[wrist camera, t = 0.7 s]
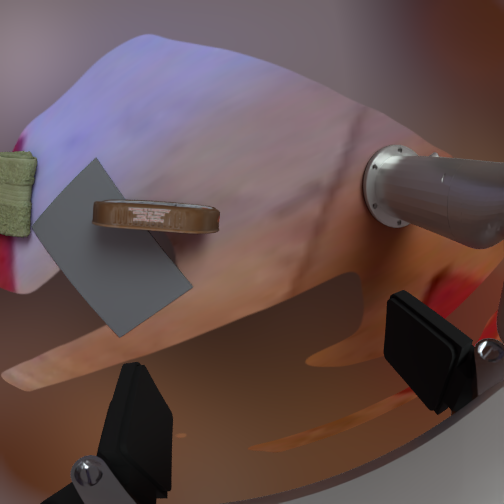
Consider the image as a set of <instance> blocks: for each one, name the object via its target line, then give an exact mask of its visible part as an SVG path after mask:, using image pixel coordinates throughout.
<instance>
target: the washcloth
mask: <svg viewBox="0 0 504 504" xmlns="http://www.w3.org/2000/svg"><path fill="white" fill-rule="evenodd" d="M36 166H37V158H36V157H33V156H32V154H31V152H29V151H28V152H24V151H22V152H21V151H19V152H16V151H15V152H1V153H0V234H2V235H5V236H8V235H9V236H13V237H15V236H17V237H24V236H25V237H27V236H29V234H30V215H31V205H32V204H31V202H30V200H31V193H32V191H31V190H32V185H33V184H34V179H35V178H34V175H35V171H36Z"/></svg>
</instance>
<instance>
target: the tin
mask: <svg viewBox="0 0 504 504" xmlns="http://www.w3.org/2000/svg"><path fill="white" fill-rule="evenodd" d="M219 218H220V212H219V210H217V209H216V208H214V207H211V206H203V205H194V204H184V203H173V202H161V201H145V200H104V201H95V202H94V205H93V220H92V224H94V225H97V226H102V227H110V228H123V229H136V230H152V231H163V232H176V233H191V234H205V233H216V232H218V231H219Z"/></svg>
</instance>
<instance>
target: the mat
mask: <svg viewBox="0 0 504 504" xmlns="http://www.w3.org/2000/svg"><path fill="white" fill-rule="evenodd" d="M104 200H125V198H124V197H123V195H122V194H121V193H120V191H119V190H118V188H117V187H116V186H115V184H114V183H113V181H112V180H111V178H110V177H109V175H108V174H107V173H106V171H105V170H104V168H103V167H102V165H101V164H100V162H99V161H98V159H97V158H95V159H94V160H93V161H92V162H91V163H90V164H89V165H88V166H87V167H86V168H85V169H84V170H82V171H81V172H80V173H79V174H78V175H77V176H76V177H75V178H74V179H73V180H72V182H71V183H70V184H69V185H68V186H67V187H66V188H65V189H64V190H63V191H62V192H61V193H60V194H59V195H58V196H57V197H56V199H55V200H54V201H53V202H52V203H51V204H50V205H49V206H48V208H47V209H46V210H45V211H44V212H43V213H42V215H41V216H40V217H39V218H38V219H37V221H36V222H35V223H34V224H33V226H32V229H33V230H34V232H35V233H36V235H37V236H38V238H39V239H40V241H41V242H42V244H43V245H44V247H45V248H46V250H47V251H48V252H49V254H50V255H51V257H52V258H53V259H54V261H55V262H56V263H57V265H58V266H59V267H60V269H61V270H62V271H63V273H64V274H65V275H66V277H67V278H68V279H69V280H70V282H71V283H72V284H73V285H74V287H75V288H76V289H77V290H78V292H79V293H80V294H81V295H82V296H83V298H84V299H85V300H86V301H87V302H88V303H89V305H90V306H91V307H92V308H93V309H94V310H95V311H96V313H97V314H98V315H99V316H100V317H101V318H102V319H103V320H104V321H105V322H106V324H107V325H108V326H109V327H110V328H111V329H112V330H113V331H114V332H115V333H116V334H117V335H118V336H119V337H122V336H123V335H124V334H126V333H127V332H129V331H130V330H132V329H133V328H135V327H136V326H137V325H139V324H140V323H142V322H143V321H145V320H146V319H148V318H149V317H150V316H152V315H153V314H155V313H156V312H158V311H159V310H161V309H162V308H163V307H165V306H166V305H168V304H169V303H171V302H172V301H174V300H175V299H176V298H178V297H179V296H181V295H182V294H184V293H185V292H187V291H188V290H190V289H191V288H192V287H193V286H192V285H191V284H190V282H189V281H188V280H187V279H186V278H185V276H184V275H183V274H182V273H181V271H180V270H179V269H178V268H177V266H176V265H175V264H174V263H173V262H172V261H171V259H170V258H169V257H168V255H167V254H166V253H165V251H164V250H163V249H162V248H161V246H160V245H159V244H158V242H157V241H156V240H155V239H154V238H153V236H152V235H151V234H150V232H149V231H148V230H136V229H123V228H110V227H102V226H97V225H94V224H92V220H93V205H94V202H95V201H104Z"/></svg>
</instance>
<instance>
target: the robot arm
mask: <svg viewBox="0 0 504 504" xmlns="http://www.w3.org/2000/svg"><path fill="white" fill-rule="evenodd" d="M372 167H373V168H372ZM363 191H364V197H365V202H366V204H367V207H368V209H369V211H370V212H371V214H372V215H373V216H374V217H375V218H376V219H377V220H378V221H379V222H381V223H382V224H384V225H387V226H389V227H393V228H400V227H404V226H407V225H409V224H413V225H416V226H419V227H421V228H424V229H426V230H429V231H431V232H434V233H436V234H439V235H441V236H444V237H446V238H449V239H451V240H454V241H456V242H458V243H461V244H463V245H465V246H468V247H471V248H474V249H486V248H489V247H492V246H494V245H496V244H497V243H499V242H500V241H502V240H503V239H504V163H498V162H487V161H478V160H468V159H457V158H445V157H439V156H438V154H437V153H435V152H434V153H433V154H431V155H430V156H418V155H417V154H416V153H415V152H414V151H413V150H411V149H410V148H408V147H405V146H402V145H389V146H386V147H383V148H382V149H380V150H379V151H377V152H376V153H375V154H374V155H373V156H372V158H371V159H370V161H369V163H368V165H367V167H366V170H365V174H364V180H363ZM497 330H498V334H499V336H500V339H501V340H502V342H503V343H504V283H503V288H502V293H501V298H500V302H499V308H498V313H497ZM472 341H473V340H472V339H470V338H469V337H468V336H467V335H465V334H464V333H463V332H461V331H460V330H459V329H457V328H456V327H455V326H453V325H452V324H451V323H449V322H448V321H447V320H445V319H444V318H443V317H441V316H440V315H439V314H437V313H436V312H435V311H433V310H432V309H430V308H429V307H428V306H426V305H425V304H424V303H422V302H421V301H419V300H418V299H417V298H415V297H414V296H412V295H411V294H409V293H408V292H407V291H405V290H402V291H400V292H397V293H394V294H392V295H391V296H390V299H389V300H388V301H387V314H386V330H385V342H384V356H385V359H386V360H387V361H388V362H389V363H390V365H391V366H392V367H393V368H394V369H395V370H396V371H397V373H398V374H399V375H400V376H401V377H402V378H403V379H404V381H405V382H406V383H407V384H408V385H409V386H410V388H411V389H412V390H413V391H414V392H415V393H416V395H417V396H418V397H419V398H420V399H421V401H422V402H423V403H424V404H425V405H426V406H427V408H428V409H429V410H434V411H435V413H436V414H437V415H438V414H440V413H442V412H443V411H445V410H446V409H447V408H448V407H449V408H450V409H451V410H452V411H451V416H450V417H449V418H447V419H446V420H444V421H443V422H441V423H440V424H438V425H436V426H435V427H433V428H432V429H430V430H429V431H427V432H425V433H424V434H422V435H421V436H419V437H417V438H415V439H414V440H412V441H410V442H408V443H406V444H404V445H403V446H401V447H399V448H397V449H395V450H393V451H391V452H389V453H387V454H385V455H383V456H381V457H379V458H377V459H375V460H372V461H370V462H368V463H366V464H363V465H361V466H359V467H357V468H354V469H352V470H349V471H347V472H344V473H341V474H339V475H336V476H333V477H331V478H328V479H325V480H322V481H319V482H316V483H313V484H310V485H306V486H303V487H300V488H296V489H292V490H289V491H285V492H281V493H277V494H273V495H268V496H263V497H258V498H253V499H248V500H242V501H236V502H229V503H222V504H504V345H503V344H502V343H501V342H500V341H498V340H495V339H490V338H487V339H483V340H480V341H479V342H478V343H476V345H475V347H474V346H473V345H472ZM172 427H173V416H172V413H171V411H170V409H169V407H168V405H167V404H166V402H165V400H164V399H163V397H162V395H161V394H160V392H159V390H158V388H157V387H156V385H155V383H154V381H153V379H152V378H151V376H150V374H149V372H148V370H147V368H146V367H145V365H141V364H140V363H138V362H133V363H126V364H123V366H122V369H121V372H120V376H119V379H118V382H117V385H116V389H115V392H114V395H113V399H112V401H111V402H110V406H109V409H108V412H107V416H106V419H105V424H104V427H103V431H102V435H101V439H100V443H99V447H98V452H97V456H92V455H89V456H84V457H82V458H80V459H79V460H77V461H76V463H75V464H74V465H73V467H72V470H71V479H72V482H71V483H70V484H68V485H67V486H66V487H64V488H63V489H61V490H60V491H58V492H57V493H55V494H53V495H52V496H50V497H49V498H47V499H46V500H44V501H43V502H42V503H41V504H156V498H167V491H170V490H171V467H172V462H171V461H172V429H173V428H172Z"/></svg>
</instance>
